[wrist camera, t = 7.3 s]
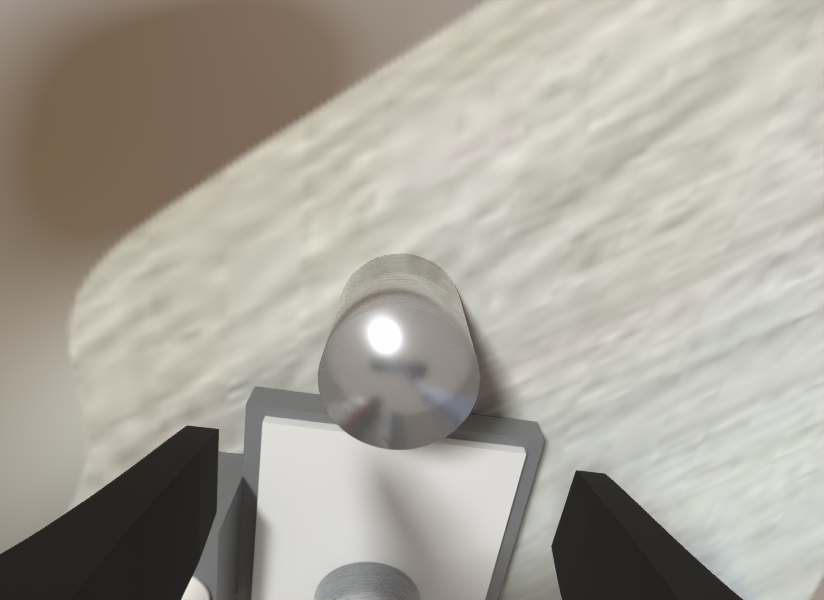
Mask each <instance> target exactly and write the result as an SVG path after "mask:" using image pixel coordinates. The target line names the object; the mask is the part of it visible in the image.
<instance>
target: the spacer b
mask: <svg viewBox="0 0 824 600" xmlns="http://www.w3.org/2000/svg"><path fill="white" fill-rule="evenodd" d="M318 386H319V392H320V396H321V399H322V402H323V404H324V407H325V409H326V410H327V412H328V414H329V415H330V417H331V418H332V419H333V420H334V422H335V423H336V424H337V425H338V426H339V427H340V428H341V429H342V430H343V431H345V432H346V433H347V434H349V435H350V436H352V437H353V438H355V439H357V440H359V441H361V442H363V443H366V444H368V445H371V446H375V447H378V448H384V449H391V450H408V449H415V448H420V447H423V446H427V445H430V444H432V443H435V442H437V441H439V440H441V439H443V438H445V437H446V436H448V435H449V434H451V433H452V432H454V431H455V430H456V429H457V428H458V427H459V426H460V425H461V424H462V423H463V422H464V421H465V419H466V418H467V417H468V415H469V414H470V412H471V411H472V409H473V407H474V405H475V402H476V400H477V396H478V393H479V387H480V371H479V365H478V361H477V357H476V354H475V350H474V347H473V343H472V340H471V336H470V333H469V329H468V326H467V322H466V318H465V315H464V311H463V308H462V304H461V301H460V297H459V294H458V291H457V289H456V287H455V285H454V283H453V281H452V280H451V278H450V277H449V276H448V275H447V274H446V272H444V271H443V270H442V269H441V268H440V267H439V266H437V265H436V264H434V263H433V262H431V261H429V260H427V259H424V258H422V257H419V256H415V255H410V254H391V255H385V256H382V257H378V258H376V259H374V260H371V261H369V262H368V263H366V264H364V265H363V266H362V267H360V268H359V269H358V270H357V271H356V272H355V273H354V274H353V275H352V276H351V277H350V279H349V280H348V282H347V283H346V285H345V287H344V289H343V292H342V295H341V298H340V301H339V304H338V307H337V311H336V314H335V317H334V320H333V323H332V326H331V330H330V333H329V336H328V339H327V342H326V345H325V349H324V352H323V355H322V358H321V361H320V366H319V371H318Z"/></svg>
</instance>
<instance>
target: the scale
mask: <svg viewBox="0 0 824 600" xmlns="http://www.w3.org/2000/svg"><path fill="white" fill-rule="evenodd" d="M544 442H545V440H544V438H543V435H542V433H541V430H540V428H539V426H538V423H537V422H532V421H524V420H516V419H508V418H500V417H492V416H484V415H476V414H469V415H468V417H467V418H466V419H465V421H464V422H463V423H462V424H461V425H460V426H459V427H458V428H457V429H456V430H455V431H454V432H452V433H451V434H449V435H448V436H446V437H445V438H443V439H441V440H439V441H437V442H435V443H432V444H430V445H427V446H423V447H420V448H415V449H408V450H391V449H384V448H378V447H375V446H371V445H368V444H366V443H363V442H361V441H359V440H357V439H355V438H353V437H352V436H350V435H349V434H347V433H346V432H345V431H343V430H342V429H341V428H340V427H339V426H338V425H337V424H336V423H335V422H334V420H333V419H332V418H331V417H330V415H329V414H328V412H327V410H326V409H325V407H324V404H323V402H322V399H321V396H320V395H317V394H309V393H301V392H293V391H285V390H277V389H269V388H261V387H255V388H254V390H253V392H252V394H251V396H250V398H249V399H248V401H247V403H246V417H245V438H244V455H240V454H231V453H223V452H218V486H217V513H216V516H215V518H214V521H213V524H212V527H211V530H210V533H209V536H208V539H207V542H206V544H205V547H204V550H203V553H202V555H201V558H200V561H199V563H198V565H197V568H196V570H195V572H194V574H193V576H192V578H191V580H190V582H189V584H188V586H187V588H186V591H185V593H184V595H183V597H182V599H181V600H234V598H235V595H236V592H237V600H314V595H315V591H316V588H317V586H318V585H319V583H320V582H321V580H322V579H323V578H324V577H325V576H326V575H327V574H329V573H330V572H331V571H333V570H335V569H337V568H339V567H341V566H344V565H347V564H351V563H356V562H377V563H382V564H386V565H389V566H392V567H394V568H397V569H399V570H400V571H402V572H404V573H405V574H406V575H407V576H409V577H410V578H411V580H412V581H413V582H414V583H415V585H416V587H417V589H418V591H419V595H420V600H498V598H499V594H500V591H501V587H502V584H503V581H504V577H505V574H506V571H507V567H508V564H509V560H510V557H511V554H512V550H513V547H514V543H515V540H516V537H517V533H518V530H519V526H520V523H521V520H522V516H523V513H524V509H525V506H526V503H527V499H528V496H529V492H530V489H531V486H532V482H533V479H534V475H535V472H536V469H537V465H538V462H539V459H540V455H541V452H542V448H543V445H544Z"/></svg>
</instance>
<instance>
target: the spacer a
mask: <svg viewBox="0 0 824 600" xmlns="http://www.w3.org/2000/svg"><path fill="white" fill-rule="evenodd" d="M314 600H420V595H419V591H418V589H417V587H416V585H415V583H414V582H413V581H412V580H411V578H410V577H409V576H407V575H406V574H405V573H404V572H402V571H400V570H399V569H397V568H394V567H392V566H389V565H386V564H382V563H377V562H356V563H351V564H347V565H344V566H341V567H339V568H337V569H335V570H333V571H331V572H330V573H329V574H327V575H326V576H325V577H324V578H323V579H322V580H321V582H320V583H319V585H318V586H317V588H316V591H315V595H314Z"/></svg>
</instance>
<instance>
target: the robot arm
mask: <svg viewBox="0 0 824 600" xmlns="http://www.w3.org/2000/svg"><path fill="white" fill-rule="evenodd" d="M218 443H219V429H213V428H204V427H195V426H186V427H184V428H183V429H182V430H180V431H179V432H178V433H176V434H175V435H173V436H172V437H171V438H169V439H168V440H167V441H165V442H164V443H163V444H161V445H160V446H159V447H158V448H156V449H155V450H154V451H152V452H151V453H150V454H148V455H147V456H146V457H144V458H143V459H142V460H140V461H139V462H138V463H136V464H135V465H134V466H132V467H131V468H130V469H128V470H127V471H126V472H124V473H123V474H121V475H120V476H119V477H117V478H116V479H115V480H113V481H112V482H110V483H109V484H108V485H106V486H105V487H103V488H102V489H101V490H99V491H98V492H97V493H95V494H94V495H92V496H91V497H89V498H88V499H87V500H85V501H84V502H82V503H81V504H79V505H78V506H76V507H75V508H73V509H72V510H70V511H69V512H67V513H66V514H64V515H63V516H61V517H60V518H58V519H57V520H55V521H54V522H52V523H51V524H49V525H48V526H46V527H45V528H43V529H41V530H40V531H38V532H37V533H35V534H33V535H32V536H30V537H29V538H27V539H25V540H24V541H22V542H20V543H19V544H17V545H15V546H14V547H12V548H10V549H9V550H7V551H5V552H3V553H2V554H0V600H181V599H182V597H183V595H184V593H185V591H186V588H187V586H188V584H189V582H190V580H191V578H192V576H193V574H194V572H195V570H196V568H197V565H198V563H199V561H200V558H201V555H202V553H203V550H204V547H205V544H206V542H207V539H208V536H209V533H210V530H211V527H212V524H213V521H214V518H215V516H216V513H217V486H218ZM551 547H552V552H553V558H554V563H555V568H556V574H557V579H558V583H559V588H560V593H561V597H562V600H743V599H741V598H740V597H739V596H738V595H737V594H736V593H734V592H733V591H732V590H731V589H730V588H729V587H727V586H726V585H725V584H724V583H723V582H722V581H720V580H719V579H718V578H717V577H716V576H715V575H714V574H712V573H711V572H710V571H709V570H708V569H707V568H706V567H705V566H704V565H702V564H701V563H700V562H699V561H698V560H697V559H696V558H695V557H694V556H693V555H691V554H690V553H689V552H688V551H687V550H686V549H685V548H684V547H683V546H682V545H681V544H680V543H679V542H677V541H676V540H675V539H674V538H673V537H672V536H671V535H670V534H669V533H668V532H667V531H666V530H665V529H664V528H663V527H662V526H661V525H659V524H658V523H657V522H656V521H655V520H654V519H653V518H652V517H651V516H650V515H649V514H648V513H647V512H646V511H645V510H644V509H643V508H642V507H641V506H640V505H639V504H638V503H637V502H635V501H634V500H633V499H632V498H631V497H630V496H629V495H628V494H627V493H626V492H625V491H624V490H623V489H622V488H621V487H620V486H618V485H617V484H616V483H615V482H614V481H613V480H612V479H611V478H609V477H608V476H607V475H606V474H603V473H595V472H586V471H577V470H576V472H575V475H574V478H573V482H572V485H571V488H570V491H569V494H568V497H567V500H566V503H565V506H564V509H563V512H562V515H561V518H560V522H559V525H558V528H557V531H556V534H555V537H554V540H553V543H552V546H551Z"/></svg>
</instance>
